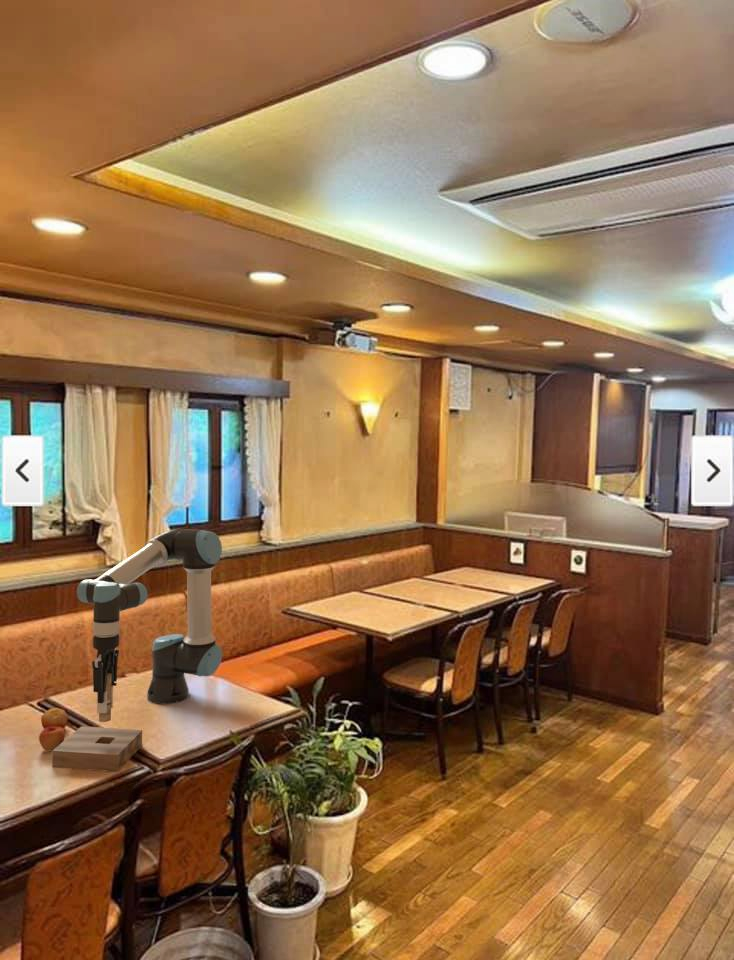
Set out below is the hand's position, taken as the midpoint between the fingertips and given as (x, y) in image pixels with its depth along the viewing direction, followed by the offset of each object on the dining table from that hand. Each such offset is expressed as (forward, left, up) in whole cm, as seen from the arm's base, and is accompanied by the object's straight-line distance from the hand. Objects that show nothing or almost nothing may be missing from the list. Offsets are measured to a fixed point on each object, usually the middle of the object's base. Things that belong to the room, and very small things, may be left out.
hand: (105, 709), depth 214 cm
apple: (-2, -18, -15) cm, 23 cm away
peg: (0, 0, -3) cm, 3 cm away
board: (0, -2, -15) cm, 15 cm away
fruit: (-16, -25, -15) cm, 33 cm away
